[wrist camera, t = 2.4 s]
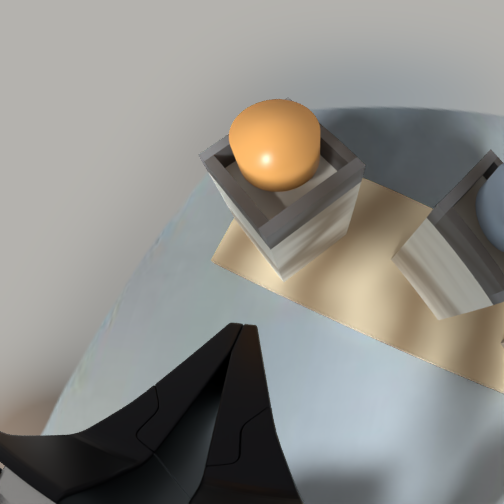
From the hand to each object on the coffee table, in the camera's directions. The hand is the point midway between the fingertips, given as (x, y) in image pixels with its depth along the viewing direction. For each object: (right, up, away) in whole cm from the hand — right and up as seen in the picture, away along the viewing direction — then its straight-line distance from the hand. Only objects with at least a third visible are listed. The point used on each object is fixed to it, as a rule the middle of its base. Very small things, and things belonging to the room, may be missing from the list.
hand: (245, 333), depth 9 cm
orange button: (+2, +7, +5) cm, 9 cm away
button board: (+14, 0, +12) cm, 19 cm away
